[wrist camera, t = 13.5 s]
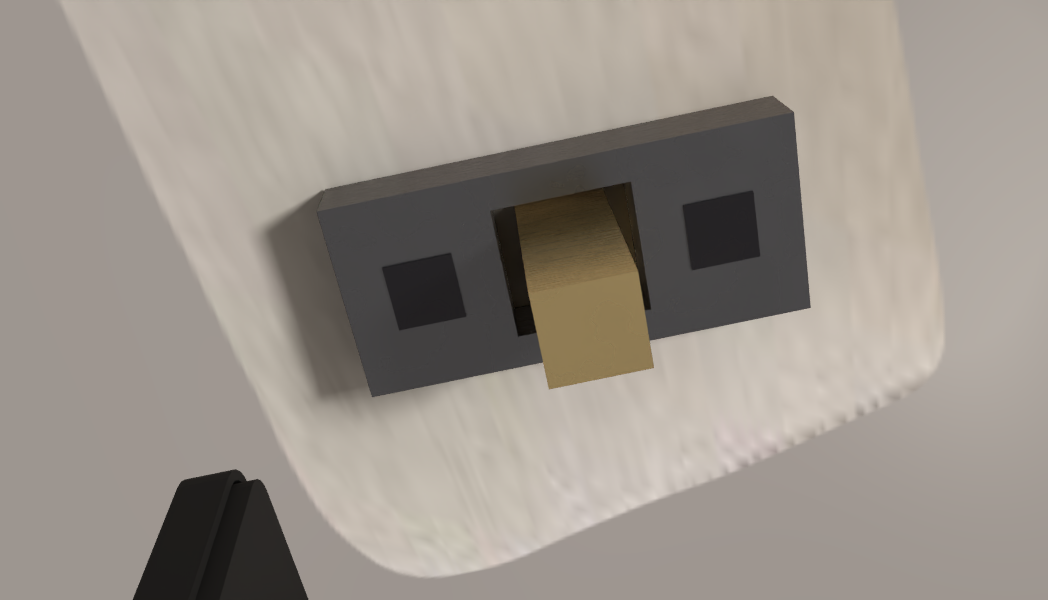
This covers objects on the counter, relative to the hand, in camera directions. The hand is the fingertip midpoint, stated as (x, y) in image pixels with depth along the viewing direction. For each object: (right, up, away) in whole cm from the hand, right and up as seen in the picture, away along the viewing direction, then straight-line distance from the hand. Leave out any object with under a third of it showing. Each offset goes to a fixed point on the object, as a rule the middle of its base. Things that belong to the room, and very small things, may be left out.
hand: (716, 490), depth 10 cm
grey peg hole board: (0, +5, +35) cm, 36 cm away
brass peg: (0, +5, +35) cm, 36 cm away
